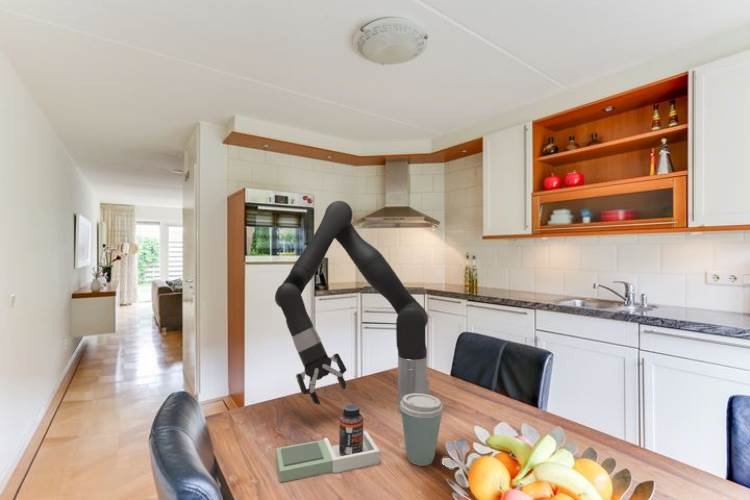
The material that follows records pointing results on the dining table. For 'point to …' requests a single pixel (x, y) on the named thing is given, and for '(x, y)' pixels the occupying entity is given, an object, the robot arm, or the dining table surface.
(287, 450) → the green rectangular block
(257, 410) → the dining table surface
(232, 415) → the dining table surface
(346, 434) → the supplement bottle
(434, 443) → the disposable coffee cup
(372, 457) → the chute bracket
